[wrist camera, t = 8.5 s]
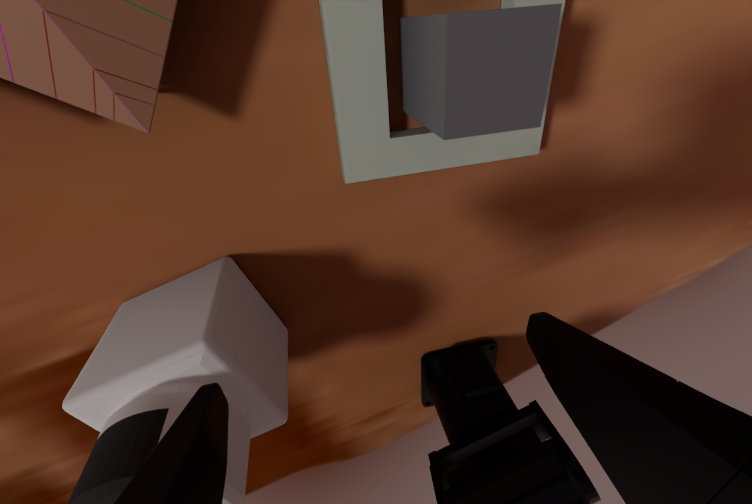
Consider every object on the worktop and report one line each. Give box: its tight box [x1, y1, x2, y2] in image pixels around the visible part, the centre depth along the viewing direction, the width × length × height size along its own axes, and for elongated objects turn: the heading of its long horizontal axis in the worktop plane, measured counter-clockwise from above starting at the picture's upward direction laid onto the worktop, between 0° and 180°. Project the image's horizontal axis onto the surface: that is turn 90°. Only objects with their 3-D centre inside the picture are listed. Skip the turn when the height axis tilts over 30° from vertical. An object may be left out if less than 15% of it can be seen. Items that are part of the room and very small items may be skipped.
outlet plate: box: [319, 0, 565, 184], centre depth 16 cm, size 14×11×2 cm
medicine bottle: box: [62, 257, 288, 504], centre depth 18 cm, size 7×7×12 cm
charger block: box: [399, 3, 562, 140], centre depth 15 cm, size 4×4×6 cm
